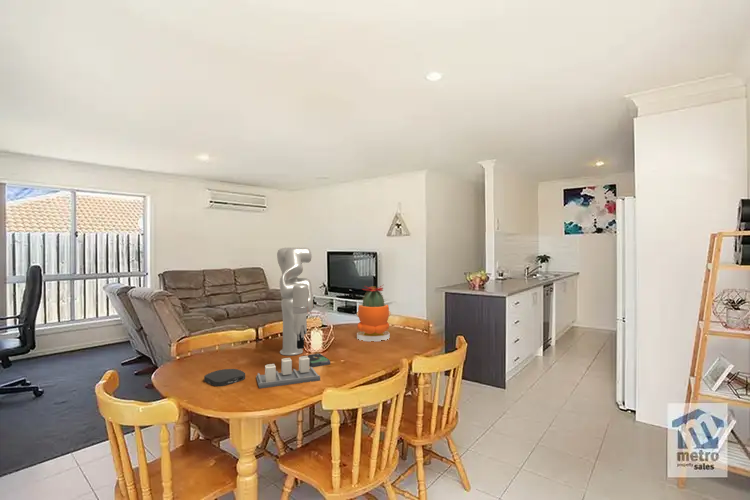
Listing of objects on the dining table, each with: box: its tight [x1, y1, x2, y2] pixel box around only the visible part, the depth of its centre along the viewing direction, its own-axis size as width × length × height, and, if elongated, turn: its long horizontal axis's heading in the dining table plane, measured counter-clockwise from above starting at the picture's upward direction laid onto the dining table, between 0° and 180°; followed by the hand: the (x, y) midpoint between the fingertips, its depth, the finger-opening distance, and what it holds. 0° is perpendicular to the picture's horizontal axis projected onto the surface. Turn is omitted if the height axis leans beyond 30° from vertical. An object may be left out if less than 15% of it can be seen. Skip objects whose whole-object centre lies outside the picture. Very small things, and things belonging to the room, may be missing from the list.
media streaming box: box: [203, 368, 246, 387], centre depth 167 cm, size 15×15×3 cm
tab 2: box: [280, 357, 293, 375], centre depth 171 cm, size 4×4×7 cm
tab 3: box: [298, 355, 310, 373], centre depth 174 cm, size 4×4×7 cm
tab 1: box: [264, 363, 277, 382], centre depth 162 cm, size 4×4×7 cm
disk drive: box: [300, 352, 331, 369], centre depth 193 cm, size 10×3×15 cm
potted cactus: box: [356, 284, 392, 342], centre depth 242 cm, size 22×22×35 cm
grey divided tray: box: [255, 366, 321, 389], centre depth 168 cm, size 14×26×2 cm, turn 113°
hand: (300, 348), depth 182 cm, fingers closed
